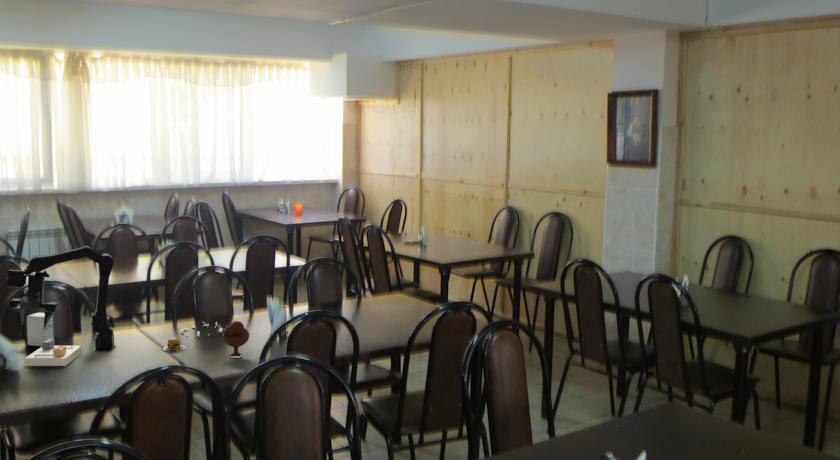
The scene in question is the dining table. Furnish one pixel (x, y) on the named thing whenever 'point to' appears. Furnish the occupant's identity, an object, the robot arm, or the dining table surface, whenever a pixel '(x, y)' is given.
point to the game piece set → (198, 331)
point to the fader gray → (48, 344)
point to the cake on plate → (173, 344)
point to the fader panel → (52, 357)
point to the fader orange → (59, 351)
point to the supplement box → (38, 329)
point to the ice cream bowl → (235, 336)
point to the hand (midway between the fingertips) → (33, 326)
